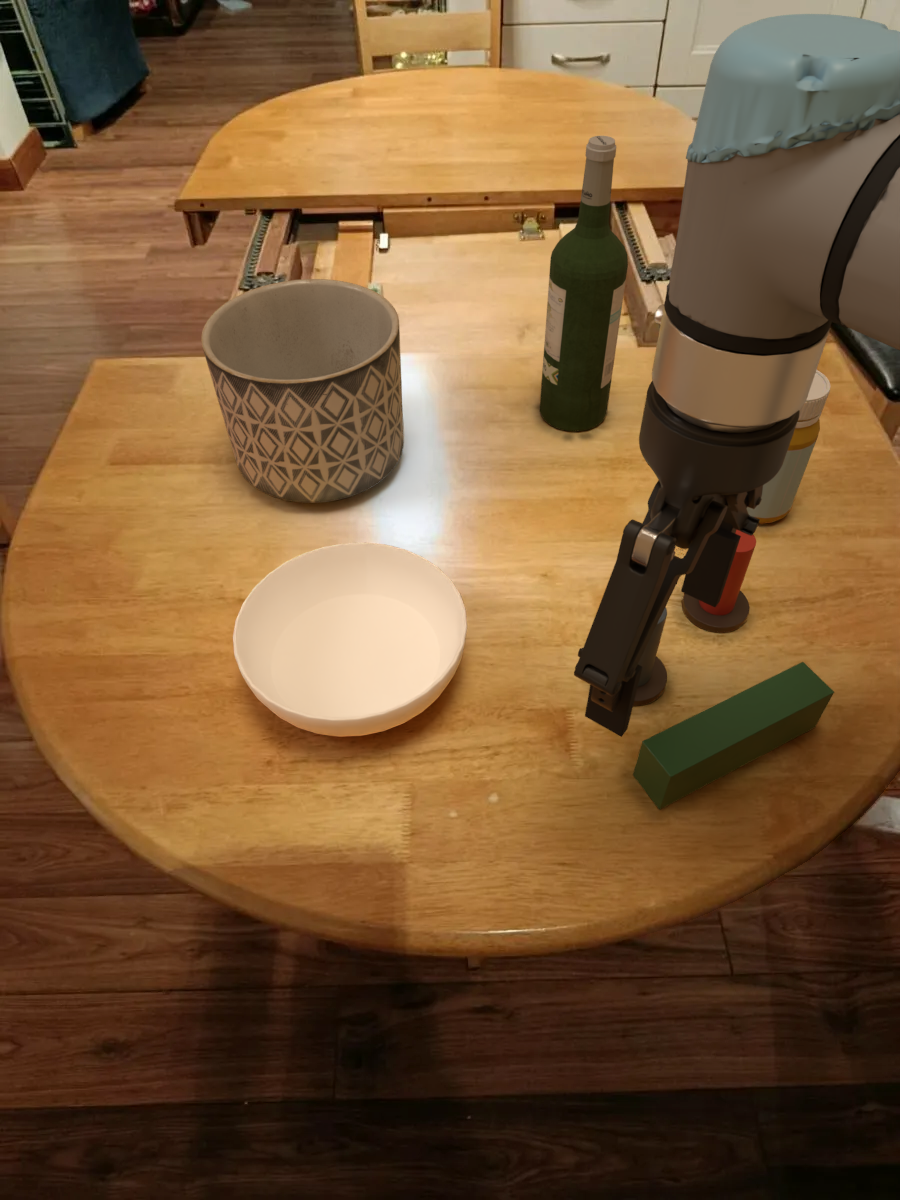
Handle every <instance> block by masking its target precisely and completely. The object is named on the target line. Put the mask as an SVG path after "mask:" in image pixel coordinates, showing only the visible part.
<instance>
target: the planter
mask: <svg viewBox="0 0 900 1200" xmlns="http://www.w3.org/2000/svg"><path fill="white" fill-rule="evenodd" d="M400 332H401V331H400V318H399V314H398V312H397V310H396V308H395V307H394V305H393V304H392V303H391V302H390V301H389V300H388V299H387V298H386V297H385V296H383V295H382V294H380V293H378V292H377V291H375V290H372V289H370V288H368V287H366V286H363V285H360V284H357V283H353V282H350V281H349V282H348V281H344V280H337V279H329V278H328V279H325V278H303V279H302V278H301V279H291V280H285V281H279V282H278V281H277V282H274V283H269V284H266V285H262V286H258V287H255V288H253V289H250V290H248V291H245V292H243V293H241V294H238V295H237V296H235V297H233V298H231V299H229V300H227V301H226V302H225V303H223V304H222V305H221V306H219V308H216V310H215V311H214V312H213V313H211V315H210V316H209V317H208V319H207V320H206V322H205V324H204V326H203V328H202V331H201V337H200V340H201V348H202V351H203V354H204V357H205V361H206V364H207V368H208V371H209V375H210V377H211V381H212V384H213V385H212V386H213V387H214V388H213V389H214V391H215V396H216V398H217V401H218V406H219V408H220V411H221V415H222V418H223V423H224V425H225V429H226V433H227V435H228V440H229V441H230V442H229V443H230V447H231V449H232V453H233V457H234V459H235V463H236V465H237V468H238V470H239V472H240V474H242V477H243V478H244V479H245V480H246V481H247V482H248V484H250V485H251V486H252V487H254V488H255V489H256V490H258V491H259V492H262V493H264V494H266V495H268V496H270V497H273V498H275V499H279V500H283V501H288V502H295V503H306V504H308V503H309V504H312V503H313V504H314V503H315V504H317V503H327V502H334V501H338V500H339V501H340V500H343V499H347V498H350V497H353V496H356V495H358V494H361V493H362V492H365V491H367V490H369V489H371V488H372V487H374V486H376V485H377V484H380V482H381V481H383V480H384V479H385V478H386V477H388V475H390V473H392V471H393V470H394V469H395V468H396V466H397V464H398V463H399V461H400V459H401V458H402V454H403V450H404V446H405V445H404V443H405V439H404V437H405V436H404V414H403V411H404V410H403V385H402V359H401V333H400Z"/></svg>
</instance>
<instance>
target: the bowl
mask: <svg viewBox="0 0 900 1200" xmlns="http://www.w3.org/2000/svg"><path fill="white" fill-rule="evenodd" d="M467 617H468V616H467V609H466V607H465V603H464V600H463V598H462V595H461V592H460V591H459V589H458V588H457V587H456V585H455V583H454V582H453V580H452V579H451V578H450V577H449V576H448V575H447V574H446V573H445V572H444V571H443V570H442V569H441V568H440V567H439V566H437V565H435V564H434V563H433V562H431V561H429V560H428V559H426V558H425V557H423V556H421V555H419V554H417V553H415V552H412V551H410V550H408V549H405V548H401V547H397V546H394V545H390V544H387V543H386V544H385V543H377V542H375V543H374V542H367V541H365V542H363V541H362V542H344V543H337V544H333V545H325V546H322V547H319V548H316V549H312V550H310V551H309V550H308V551H306V552H303V553H301V554H299V555H296V556H294V557H292V558H291V559H289V560H287V561H284V562H283V563H282V564H279V566H277V567H275V568H274V569H273V570H271V571H270V572H269V573H267V574H266V575H265V576H264V577H263V578H262V579H261V580H260V581H259V582H258V583H257V584H256V585H254V587H253V588H252V589H251V591H250V592H249V594H248V595H247V597H246V598H245V600H244V601H243V602H242V605H241V607H240V609H239V611H238V613H237V616H236V618H235V622H234V627H233V628H234V629H233V634H232V647H233V656H234V660H235V662H236V664H237V667H238V669H239V673H240V674H241V676H242V678H243V679H244V682H245V683H246V685H247V686H248V688H249V689H250V690H251V692H252V694H253V695H254V696H255V697H256V699H257V700H258V701H259V702H260V703H261V704H263V705H264V706H265V707H266V708H267V709H268V710H270V711H271V712H272V713H273V714H274V715H276V716H277V717H278V718H280V719H281V720H283V721H285V722H286V723H289V724H290V725H292V726H294V727H296V728H298V729H301V730H304V731H308V732H311V733H314V734H317V735H323V736H330V737H342V738H343V737H362V736H367V735H371V734H376V733H380V732H381V733H382V732H385V731H387V730H390V729H392V728H395V727H398V726H400V725H402V724H405V723H406V722H407V723H408V721H410V720H412V719H413V718H415V717H416V716H418V715H420V714H422V713H423V712H424V711H425V710H426V709H428V708H429V707H430V706H431V705H432V704H433V703H434V702H435V701H436V700H438V698H439V697H440V696H441V694H442V693H443V692H444V691H445V689H446V688H447V687H448V686H449V684H450V682H451V680H452V679H453V678H454V676H455V674H456V671H457V669H458V667H459V666H460V663H461V661H462V658H463V653H464V648H465V644H466V638H467V633H468V618H467Z"/></svg>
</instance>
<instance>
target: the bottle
mask: <svg viewBox="0 0 900 1200" xmlns="http://www.w3.org/2000/svg"><path fill="white" fill-rule="evenodd" d="M830 382H831V381H830V380H829V378H828V377H827V376H826V375H825V374H824V373H822V372H821V371H819V369H817V370H816V373H815V376H814V379H813V382H812V385H811V388H810V391H809V394H808V397H807V400H806V402H805V403H804V405H803V406H802V408H801V409H800V410H799V411H800V413H799V419H798V422H797V424H796V427H795V430H794V433H793V436H792V439H791V442H790V445H789V448H788V451H787V454H786V456H785V459H784V462H783V465H782V467H781V469H780V470H779V472H778V473H777V474H776V476H775V477H774V478H773V479H771V480H770V481H769V482H768V483H766V484H764V485H763V491H762V497H761V499H762V500H761V502H760V504H759V505H757V507H756V508H755V509H752V508H749V507H747V511H748V514H749V515H750V516H753V517H755V518H757V519H760V521H759V524H760V525H763V524H770V523H774V522H777V521H779V520H782V519H783V518H785V517H787V515H788V514H789V513H790V511H791V508H792V507H793V504H794V501H795V498H796V497H797V493H798V490H799V488H800V485H801V482H802V480H803V477H804V474H805V473H806V469H807V466H808V464H809V461H810V459H811V456H812V453H813V450H814V448H815V446H816V443H817V440H818V437H819V434H820V432H821V421H820V418H821V416H822V413H823V410H824V409H825V405H826V402H827V400H828V398H829V394H830V392H831V383H830ZM759 524H758V525H759Z"/></svg>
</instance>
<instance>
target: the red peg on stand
mask: <svg viewBox="0 0 900 1200" xmlns="http://www.w3.org/2000/svg"><path fill="white" fill-rule="evenodd" d="M735 534H737V535H740V536H741V537H740V541H739V544H738V547H737V550H736V553H735V556H734V559H733V562H732V565H731V568H730V571H729V574H728V577H727V581H726V584H725V587H724V590H723V593H722V596H721V599H720V602H719V603H718V604H717V606H716V607H713V606H711V605H708V604H706V603H704V602H702V601H700V600H698V599H696V598H694V597H692V596H689V595H687V594H685V593H683V596H682V600H681V607H682V608H681V609H682V611H683V613H684V615H685V617H686V618H687V620H688V621H690V622H691V623H692V624H693V625H695V626H696V627H698V628H700V629H701V630H704V631H707V632H711V633H715V634H717V633H718V634H725V633H730V632H734V631H736V630H738V629H740V628H741V627H742V626H744V625H745V623H746V621H747V620H748V617H749V614H750V603H749V600H748V598H747V596H746V595H745V594H744V592H743V591H742V590H741V588H742V585H743V582H744V579H745V577H746V574H747V571H748V568H749V566H750V563H751V560H752V557H753V554H754V551H755V548H756V545H757V537H756V536H755V535H754V534H753V535H752V536H750V535H748V534H746V533H743V532H741V531H739V530H736V533H735Z"/></svg>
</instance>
